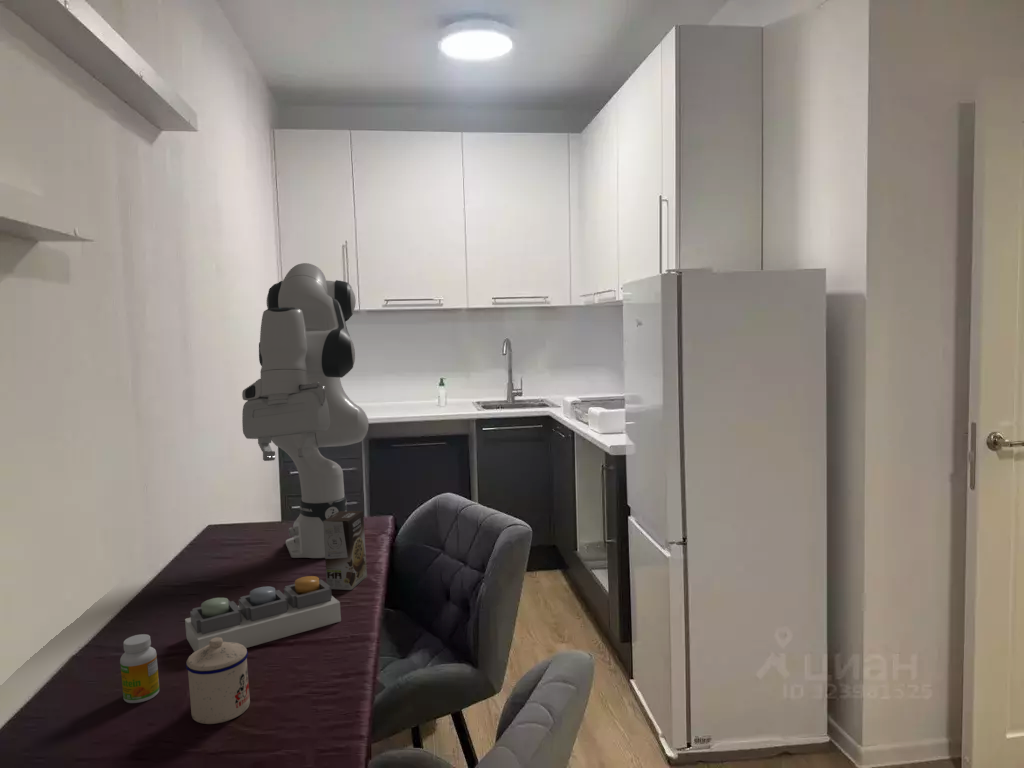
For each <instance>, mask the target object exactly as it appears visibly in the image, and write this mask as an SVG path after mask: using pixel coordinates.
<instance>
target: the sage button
mask: <svg viewBox="0 0 1024 768" xmlns="http://www.w3.org/2000/svg"><path fill="white" fill-rule="evenodd" d="M228 600H229V599H228V598H227V597H212V598H210V599H207V600H205V601H203V602H202V603H201V604H200V607H201V608H202V616H203V617H206V618H209V617H213V616H217V615H221V614H225V613H228V612H229V604H228Z"/></svg>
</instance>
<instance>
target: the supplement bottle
mask: <svg viewBox="0 0 1024 768" xmlns="http://www.w3.org/2000/svg"><path fill="white" fill-rule="evenodd" d="M151 645H152V641H151V636H150V635H149V634H145V633H143V634H142V633H141V634H135V635H132V636H129V637H127V638H126V639H125V640H124V641H123V646H122V647H123V651H124V653H123V654H122V655H121V656H120V658H119V659H120V660H119V665H120V675H121V687H122V688H121V689H122V696H123V698H122V699H123V700H124V702H126V703H127V704H139V703H143V702H146V701H149V700H152V699H153V698H155V697H156V696H157V695H158V694H159V692H160V679H159V667H158V656H157V655H158V654H157V650H156V649H155V647H152V646H151Z"/></svg>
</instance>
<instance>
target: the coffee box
mask: <svg viewBox="0 0 1024 768" xmlns="http://www.w3.org/2000/svg"><path fill="white" fill-rule="evenodd" d="M364 517H365V516H364V511H363V510H346V511H339V512H337V513H336V514H334V515H332V516H331V517H329V518H327V519H326V520H324V521H323V525H324V544H325V558H324V559H325V579H326V583H327V584H328V585H329V586H331V590H341V591H342V590H343V591H352V590H354V588H356V587H357V586H358V585H359V584H360V583H362V581H363V580H365V579H366V578H367V577H368V573H367V572H368V571H367V570H368V569H367V554H366V553H367V552H366V537H365V521H364V519H365V518H364Z"/></svg>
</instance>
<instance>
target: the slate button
mask: <svg viewBox="0 0 1024 768" xmlns="http://www.w3.org/2000/svg"><path fill="white" fill-rule="evenodd" d="M275 590H276V588H275V587H274V586H261V587H256V588H253V589H251V590H250V591H249V595H250V603H251V604H252V605H261V604H265V603H269V602H273V601H275V600H276V594H275Z"/></svg>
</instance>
